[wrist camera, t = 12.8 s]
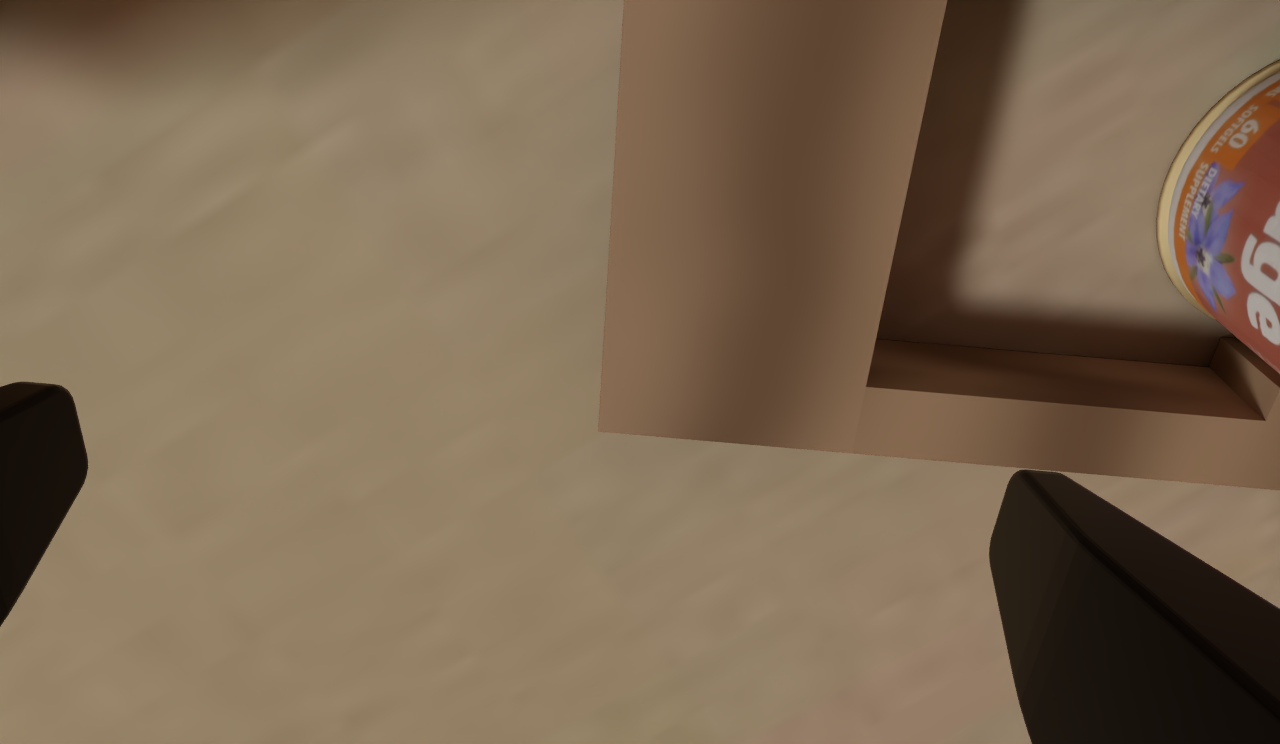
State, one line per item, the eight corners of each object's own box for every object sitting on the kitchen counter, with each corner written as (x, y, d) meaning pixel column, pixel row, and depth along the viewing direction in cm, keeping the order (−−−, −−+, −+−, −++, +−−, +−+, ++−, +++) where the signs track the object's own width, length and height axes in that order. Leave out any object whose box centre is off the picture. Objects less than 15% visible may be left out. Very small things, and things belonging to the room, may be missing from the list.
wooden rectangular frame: (606, 378, 23) (598, 431, 21) (642, -182, 18) (635, -190, 16) (1416, 448, 23) (1492, 508, 21) (1709, -95, 18) (1856, -90, 15)
